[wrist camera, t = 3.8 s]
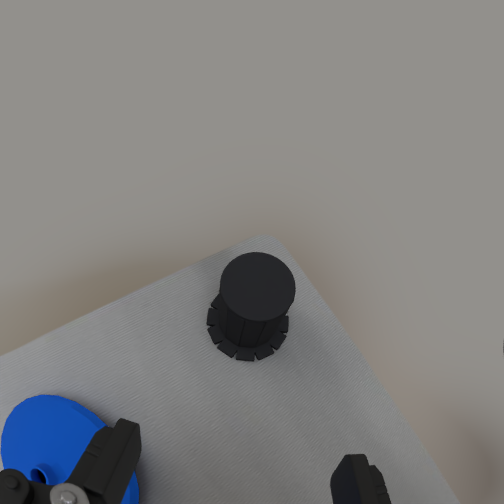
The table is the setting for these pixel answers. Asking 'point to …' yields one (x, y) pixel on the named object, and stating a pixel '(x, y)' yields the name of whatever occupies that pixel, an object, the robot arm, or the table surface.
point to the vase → (51, 440)
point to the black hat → (252, 306)
